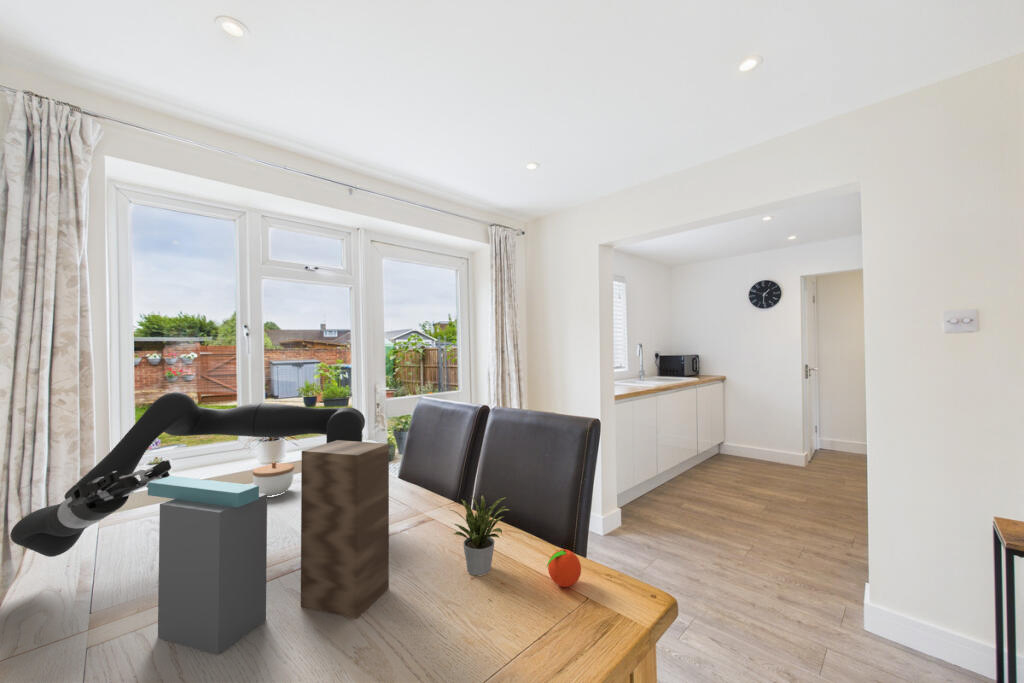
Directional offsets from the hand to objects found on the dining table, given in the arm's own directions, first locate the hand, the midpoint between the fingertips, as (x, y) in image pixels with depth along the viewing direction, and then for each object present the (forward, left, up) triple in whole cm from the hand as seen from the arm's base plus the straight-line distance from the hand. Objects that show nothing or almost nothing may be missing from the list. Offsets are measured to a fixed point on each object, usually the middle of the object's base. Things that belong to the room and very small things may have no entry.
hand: (143, 470), depth 79 cm
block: (-8, +14, -4) cm, 16 cm away
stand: (-30, +23, -27) cm, 47 cm away
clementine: (-65, +51, -27) cm, 87 cm away
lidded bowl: (-35, -55, -27) cm, 71 cm away
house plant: (-57, +35, -27) cm, 72 cm away
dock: (-9, +16, -27) cm, 33 cm away
